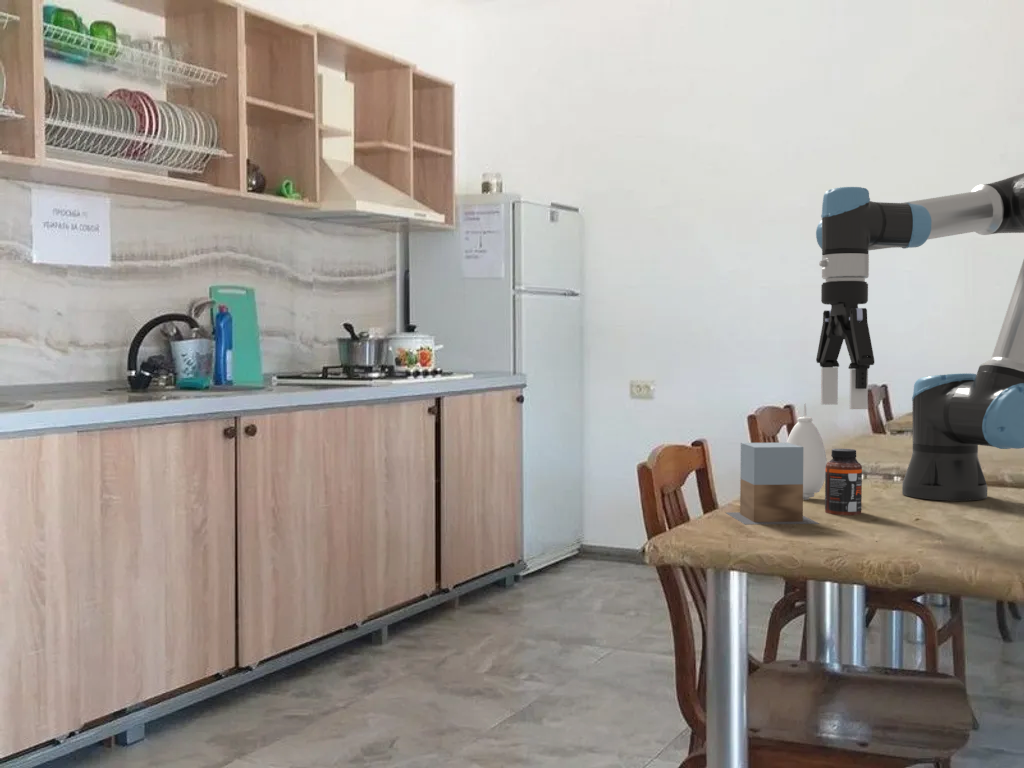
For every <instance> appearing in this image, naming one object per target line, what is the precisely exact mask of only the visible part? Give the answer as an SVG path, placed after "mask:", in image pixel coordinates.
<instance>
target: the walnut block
mask: <svg viewBox="0 0 1024 768" xmlns="http://www.w3.org/2000/svg"><path fill="white" fill-rule="evenodd" d="M739 481H740V488H739V489H740V492H739V494H740V495H739V497H740V499H739V500H740V501H739V502H740V503H739V504H740V506H739V508H740V509H739V512H740V514H741V515H742V516H744V517H746V518H748V519H749V520H751V521H753V522H803V516H804V500H803V484H787V485H753V484H751V483H749V482H747V481H745V480H742V479H740V480H739Z"/></svg>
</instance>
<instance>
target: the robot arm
mask: <svg viewBox="0 0 1024 768" xmlns="http://www.w3.org/2000/svg"><path fill="white" fill-rule="evenodd" d="M821 206H822V207H821V215H820V217H821V220H820V221H819V222H818V224H817V227H816V229H815V230H816V231H815V236H816V237H815V238H816V242H817V245H818V247H820V249H821V260H820V261H819V266H820V267H821V278H822V280H825V282H822V284H821V287H820V289H821V296H820V297H821V298H820V299H821V301H820V302H821V303H822V304H823V305H826V306H827V305H830V306H831V308H830V310H823V313H822V325H821V331H820V336H819V337H820V338H819V344H818V349H817V353H816V361H815V362H816V363H817V364H819V367H821V368H820V371H821V372H820V374H821V375H820V383H821V384H820V405H822V406H823V405H825V406H826V405H835V406H836V405H838V403H839V402H838V400H839V397H838V390H839V389H838V387H839V381H838V379H839V367H840V364H839V361H838V358H839V355H840V353H841V350H842V347H843V343H845V346H846V349H847V353H848V356H849V359H850V363H849V365H848V366H847V367H848V369H849V410H868V408H869V407H868V404H869V403H868V401H869V399H868V397H869V396H868V393H869V392H868V391H869V369H870V368H871V366H873V365H875V357H874V350H873V345H872V341H871V335H870V328H869V324H868V323H869V321H868V309H867V308H866V307H859V305H865V304H867V303H868V301H869V283H868V282H867V281H866V279H868V278H869V275H870V273H869V271H870V270H869V269H870V267H869V265H870V264H869V263H870V261H869V260H870V259H869V258H870V257H869V256H870V254H869V253H870V252H869V251H875V250H876V251H877V250H884V249H891V248H892V249H894V248H900V249H901V248H902V249H908V248H910V249H911V248H919V247H921V246H923V245H924V244H925V243H926V242H927V240H933V239H938V238H945V237H951V236H957V235H963V234H969V233H976V234H978V235H981V236H989V235H995V234H1021V233H1022V234H1024V173H1020V174H1016V175H1013V176H1009V177H1008V178H1004V179H1002V180H998V181H994V182H991V183H985V184H979V185H976V186H975V187H973V188H972V189H971V190H970V191H968V192H963V193H957V194H950V195H944V196H937V197H936V196H935V197H931V198H924V199H918V200H912V201H905V202H881V201H879V202H878V201H877V202H876V201H871V198H870V191H869V190H868V189H867V188H865V187H861V186H843V187H841V186H840V187H835V188H834V187H833V188H830V189H827V190H826V191H825V192H824V194H823V198H822V205H821ZM912 394H913V395H912V398H911V401H912V453H911V458H910V461H909V464H908V466H907V469H906V472H905V473H904V475H905V476H904V478H903V481H902V487H901V488H902V492H901V494H902V495H904V496H906V497H910V498H916V499H917V498H918V499H924V500H925V499H926V500H936V501H956V502H957V501H980V500H985V499H987V498H988V484H987V481H986V477H985V474H984V471H983V469H982V465H981V463H980V460H979V446H985V447H991V448H997V449H1002V450H1010V449H1015V450H1018V449H1024V259H1023V261H1022V264H1021V266H1020V271H1019V274H1018V276H1017V279H1016V282H1015V285H1014V288H1013V291H1012V295H1011V297H1010V301H1009V303H1008V307H1007V310H1006V313H1005V316H1004V319H1003V322H1002V325H1001V328H1000V331H999V333H998V337H997V340H996V343H995V346H994V349H993V352H992V356H991V358H990V359H989V360H986V361H985V362H983V363H981V364H980V365H979V366H978V370H977V373H970V372H969V373H967V372H966V373H947V374H936V375H929V376H928V375H927V376H922V377H920V378H917V379H916V381H915V382H914V384H913V393H912Z"/></svg>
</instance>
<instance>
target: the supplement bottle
mask: <svg viewBox="0 0 1024 768" xmlns="http://www.w3.org/2000/svg"><path fill="white" fill-rule="evenodd" d="M830 457H831V459H830V461H827V464H826V469H825V480H824V484H825V487H824V489H825V490H824V512H825V513H826V514H829V515H835V516H836V515H837V516H857V515H858V516H859V515H861V514H862V510H863V509H862V507H863V503H862V499H863V497H862V494H863V493H862V492H863V491H862V488H863V487H862V486H863V485H862V484H863V466H862V463H860V462H859V461H858V460H857V449H853V448H833V449H831V456H830Z"/></svg>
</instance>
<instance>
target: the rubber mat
mask: <svg viewBox="0 0 1024 768" xmlns="http://www.w3.org/2000/svg"><path fill="white" fill-rule="evenodd" d="M725 514H727V515H728V516H730V517H732V518H734V519H735V520H737V521H738V522H740V523H742V524H743V525H746V526H747V525H751V526H752V525H812V524H813V525H817V524H818V525H820V523H819V522H818V521H815V520H813V519H811V518H809V517H806V516H804V515H803V522H753V521H751V520H749V519H748V518H746V517H744V516H742V515H741V514H740V511H739V512H737V511H735V512H730V511H729V512H725Z"/></svg>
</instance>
